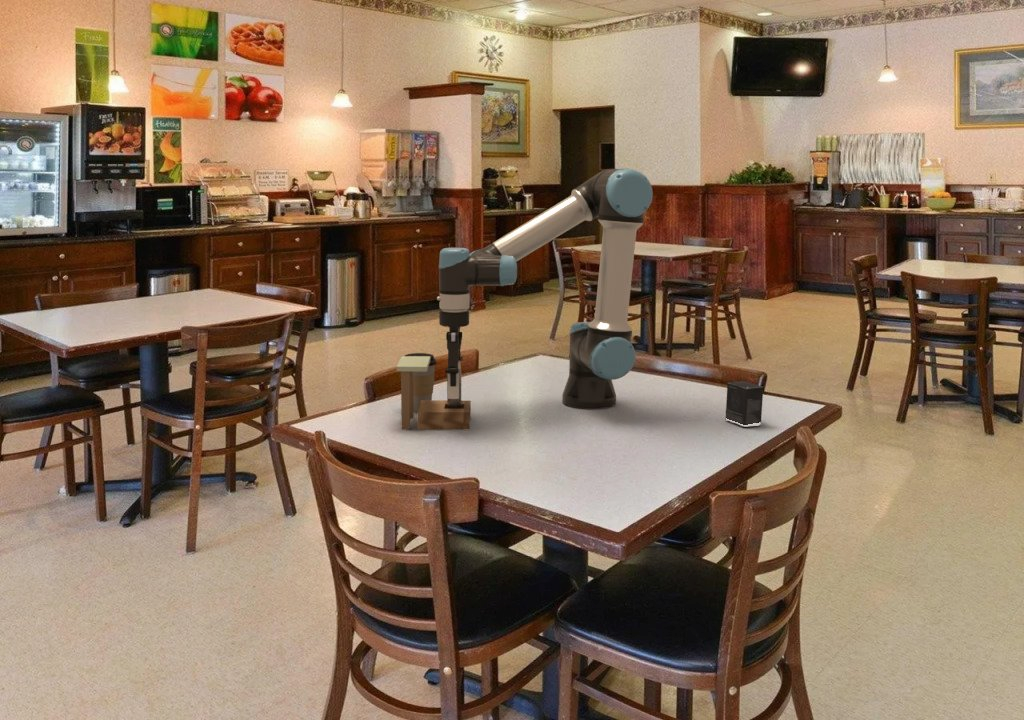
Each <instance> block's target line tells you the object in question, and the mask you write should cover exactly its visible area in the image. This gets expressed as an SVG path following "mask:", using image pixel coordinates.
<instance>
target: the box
mask: <svg viewBox="0 0 1024 720" xmlns="http://www.w3.org/2000/svg"><path fill="white" fill-rule="evenodd" d="M726 386H727V387H726V404H725V405H726V406H725V419H726V418H727V419H729V420H732V421H735V422H738V423H740V424H743V425H748V424H753V423H759V422H761V423H762V414H763V413H762V412H763V411H762V410H763V401H764V400H763V396H764V386H761V385H758V384H756V383H751V382H749V381H745V380H739V381H730V382H727V385H726Z"/></svg>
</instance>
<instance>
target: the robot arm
mask: <svg viewBox="0 0 1024 720" xmlns="http://www.w3.org/2000/svg"><path fill="white" fill-rule="evenodd" d="M653 194H654V193H653V187H652V185H651V182H650V180H649V178H647V176H645V175H644V174H643V173H642V172H640V171H638V170H636V169H631V168H608V169H604V170H602V171H600V172H597V174H595V175H594V176H592V177H590V178H589V179H588V180H586V181H584V182H583V183H582V184H580V185H579V186H576V187H575V188H574V189H572V190H571V194H570V195H569V196H568V197H565V199H563V200H561V201H560V202H558V203H556V204H555V205H553V206H551V207H549V208H548V209H546V210H545V211H543V212H541V213H539V214H538V215H536V216H535V217H533V218H531V219H530V220H528V221H527V222H525V223H523V224H521V225H520V226H518V227H517V228H515V229H513V230H511V231H510V232H508V233H506V234H504V235H503V236H502V237H500V238H499V239H497V240H496V241H493V242H492V243H491V244H488V245H487V246H485V247H484V248H482V249H476V250H474V251H472V252H470V250H469V248H467V247H466V248H465V247H445V248H442V249H441V250H440V252H439V260H438V261H439V262H438V282H439V283H438V284H439V288H438V289H439V290H438V291H439V292H438V293H439V296H437V297H436V300H437V301H439V309H440V310H439V312H438V313H439V316H438V317H439V318H438V319H439V320H438V322H439V325H440V326H442V327H445V328H447V327H448V328H449V331H446V333H445V334H446V335H445V336H446V337H445V339H446V349H447V351H448V352H447V369H444V374H447V373H448V399H459V373H458V372H459V370H458V369H461V368H462V367H461V364H462V363H461V361H464V357H463V356H461V355H462V354H461V349H462V348H461V347H462V340H463V331H461V327H462V328H463V327H468V326H469V325H470V312H469V309H470V287H478V286H479V287H480V286H485V287H486V286H491V287H493V286H497V287H498V286H499V287H504V286H511V285H515V283H516V281H517V278H518V263H517V262H518V261H520V260H521V259H523V258H525V257H527V256H529V254H531V253H533V252H534V251H536V250H538V249H539V248H541V247H543V246H545V245H547V244H548V243H550V242H551V241H553V240H554V239H557V237H559V236H561V235H563V234H564V233H566V232H567V231H570V230H571V229H572V228H575V227H576V226H578V225H579V224H581V223H583V222H584V221H587V222H591V221H593V220H596V219H597V220H598V222H599V224H601V226H602V240H601V249H600V259H599V270H598V278H597V279H598V281H597V292H596V298H595V299H596V302H595V312H594V319H592V320H591V321H582V322H580V321H579V322H573V323H572V324H571V325H570V329H569V330H570V331H569V334H568V335H569V365H568V366H569V367H568V368H569V369H568V370H569V371H568V378H567V381H566V384H565V386H564V389H563V392H562V397H561V398H562V399H561V401H562V404H564V405H565V406H568V407H571V408H576V409H583V410H585V409H586V410H600V409H609V408H611V407H614V406H616V404H617V393H616V390H615V387H614V384H613V380H614V381H615V380H619V379H621V378H624V377H625V376H626V375H628V373H630V371H632V369H633V367H634V365H635V363H636V356H637V355H636V350H635V347H634V346H633V344H632V335H633V327H632V326H631V325H630V324H629V322H628V319H629V308H630V299H631V288H632V278H633V269H634V259H635V258H634V257H635V249H636V239H637V231H638V230H639V229H640V228H641V227H642V226H643V225H644V220H645V219H644V218H645V213H646V211H648V209H649V208H650V206H651V204H652V201H653ZM461 370H462V369H461Z"/></svg>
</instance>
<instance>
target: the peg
mask: <svg viewBox="0 0 1024 720" xmlns="http://www.w3.org/2000/svg"><path fill="white" fill-rule="evenodd" d="M458 370H459V372H458V373H459V399H448V373H446V381H447V382H446V383H447V384H446V386H447V387H446V393H447V394H446V396H447V398H446V399H447V409H461V401H462V369H458Z"/></svg>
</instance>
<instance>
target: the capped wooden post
mask: <svg viewBox="0 0 1024 720" xmlns="http://www.w3.org/2000/svg"><path fill="white" fill-rule="evenodd" d="M429 364H430V356H405V355H403V356H401V357H400V359H399V361H398V363H397V365H396V372H400V390H401V391H400V393H401V394H400V396H401V397H400V398H401V399H400V401H401V403H400V404H401V405H400V407H401V409H400V410H401V430H411V420H413V419H414V418H415V417H414V414H415V413H414V406H413V371H419V372H427V370H428V367H429Z"/></svg>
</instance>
